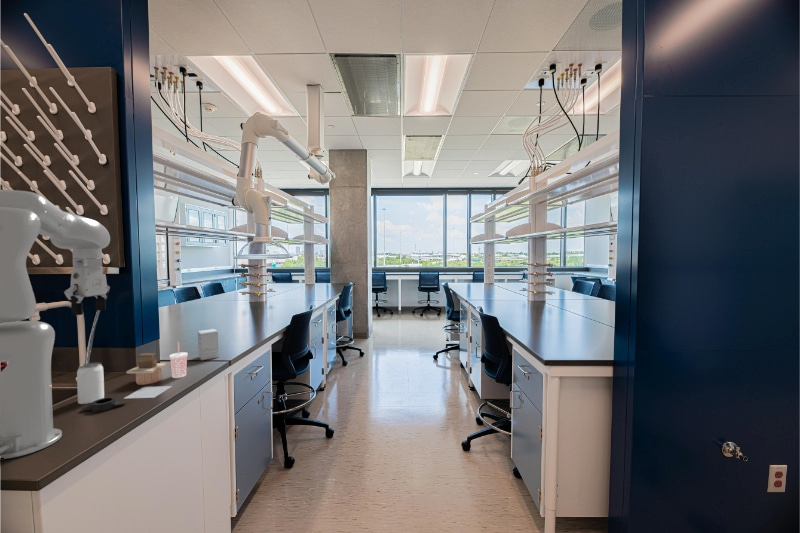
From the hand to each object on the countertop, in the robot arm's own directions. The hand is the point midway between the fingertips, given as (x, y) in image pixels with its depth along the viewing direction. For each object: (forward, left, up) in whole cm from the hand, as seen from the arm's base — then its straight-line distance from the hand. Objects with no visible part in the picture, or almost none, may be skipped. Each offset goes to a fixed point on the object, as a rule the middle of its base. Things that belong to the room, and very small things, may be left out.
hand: (89, 312), depth 119 cm
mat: (-3, -21, -28) cm, 35 cm away
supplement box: (+39, -21, -28) cm, 53 cm away
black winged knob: (-15, -15, -29) cm, 36 cm away
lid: (+8, -14, -23) cm, 28 cm away
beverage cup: (+13, -22, -28) cm, 38 cm away
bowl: (+8, -14, -28) cm, 33 cm away
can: (-8, -6, -28) cm, 30 cm away
